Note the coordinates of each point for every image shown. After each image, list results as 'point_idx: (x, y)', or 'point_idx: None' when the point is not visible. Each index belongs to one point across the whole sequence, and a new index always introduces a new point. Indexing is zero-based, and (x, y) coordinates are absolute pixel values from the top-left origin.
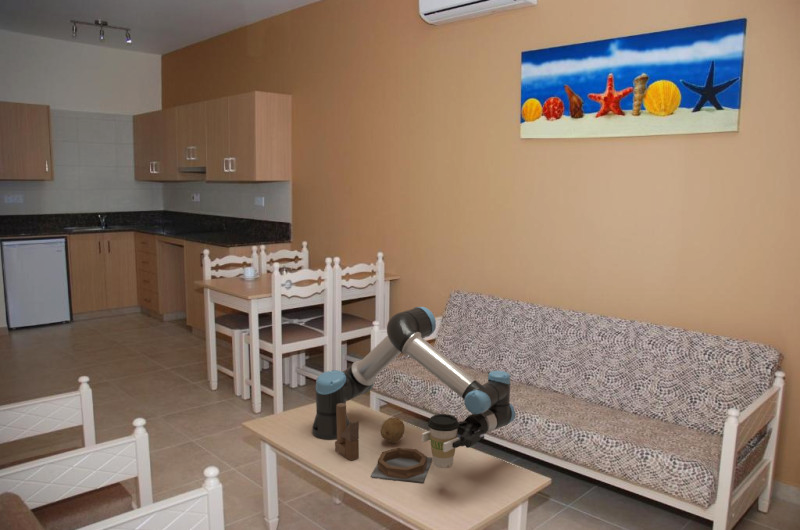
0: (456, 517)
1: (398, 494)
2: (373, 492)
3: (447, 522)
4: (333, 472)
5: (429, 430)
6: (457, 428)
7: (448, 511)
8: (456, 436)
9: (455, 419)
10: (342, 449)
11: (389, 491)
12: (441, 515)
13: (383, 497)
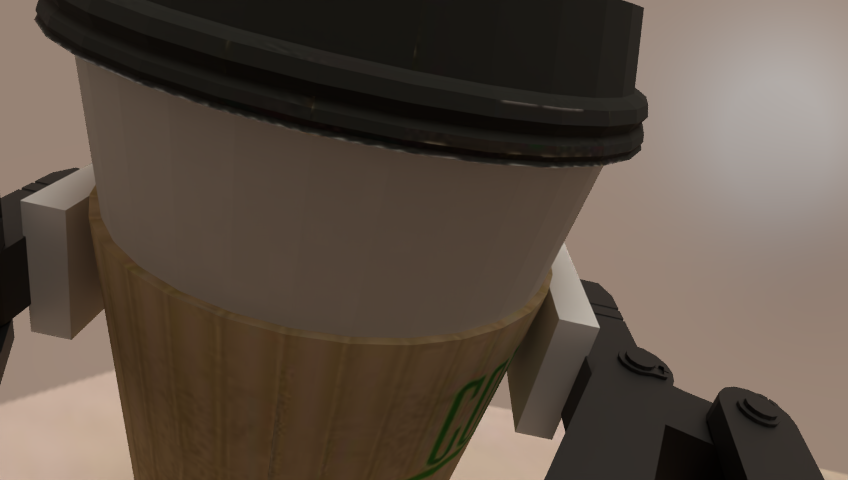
0: (15, 447)
1: (462, 476)
2: (558, 432)
3: (66, 392)
4: (833, 476)
5: (619, 312)
6: (78, 75)
7: (91, 475)
8: (90, 201)
9: (220, 1)
10: None
11: (519, 476)
12: (124, 426)
13: (489, 421)
